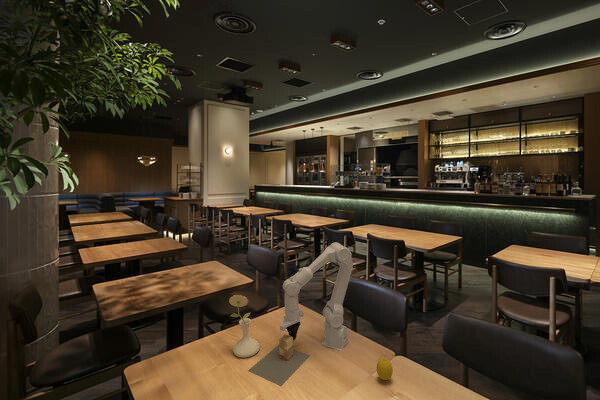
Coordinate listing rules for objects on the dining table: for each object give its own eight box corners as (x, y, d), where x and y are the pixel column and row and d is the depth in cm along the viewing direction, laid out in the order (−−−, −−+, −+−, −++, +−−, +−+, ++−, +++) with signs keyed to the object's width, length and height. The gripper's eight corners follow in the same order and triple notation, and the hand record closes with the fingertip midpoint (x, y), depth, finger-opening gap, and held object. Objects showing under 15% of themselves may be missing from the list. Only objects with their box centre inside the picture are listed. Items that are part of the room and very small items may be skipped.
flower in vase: (264, 346, 128) (261, 291, 126) (252, 362, 118) (248, 302, 115) (238, 341, 133) (235, 288, 130) (224, 357, 122) (220, 299, 119)
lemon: (374, 375, 108) (374, 354, 107) (389, 373, 108) (389, 353, 107) (379, 386, 102) (379, 364, 102) (395, 384, 103) (395, 363, 102)
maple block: (293, 355, 120) (292, 337, 120) (287, 360, 117) (287, 341, 116) (285, 352, 123) (284, 334, 122) (279, 357, 119) (278, 339, 118)
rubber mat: (310, 356, 120) (310, 355, 120) (281, 387, 103) (281, 386, 103) (279, 345, 129) (279, 344, 129) (247, 371, 112) (247, 370, 112)
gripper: (293, 299, 130) (294, 328, 132) (273, 313, 118) (274, 345, 120) (307, 302, 126) (308, 332, 128) (287, 317, 114) (288, 350, 116)
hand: (293, 339), depth 123 cm, fingers closed
